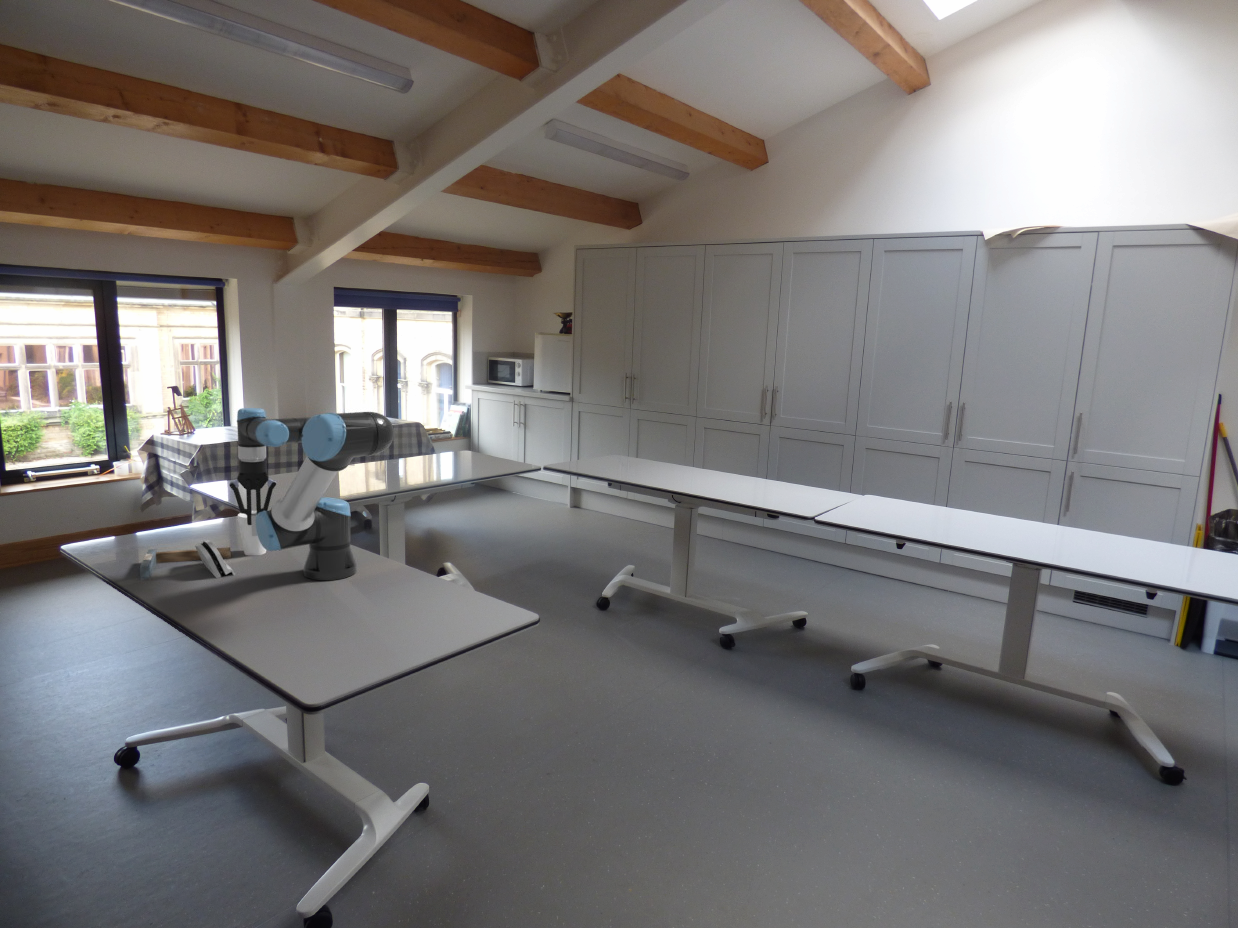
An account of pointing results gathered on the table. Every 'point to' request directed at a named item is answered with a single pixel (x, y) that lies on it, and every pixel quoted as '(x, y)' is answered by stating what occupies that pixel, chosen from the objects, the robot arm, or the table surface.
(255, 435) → the robot arm
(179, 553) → the wooden handled mallet
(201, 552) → the white piece
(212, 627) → the table surface
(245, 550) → the foam cup
